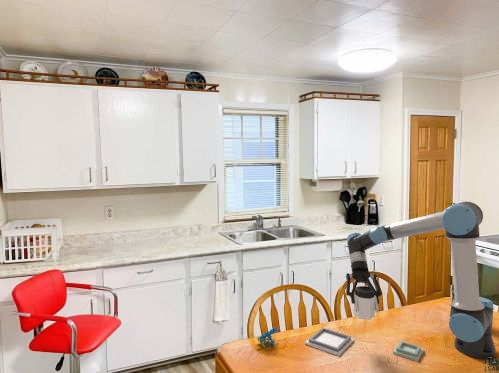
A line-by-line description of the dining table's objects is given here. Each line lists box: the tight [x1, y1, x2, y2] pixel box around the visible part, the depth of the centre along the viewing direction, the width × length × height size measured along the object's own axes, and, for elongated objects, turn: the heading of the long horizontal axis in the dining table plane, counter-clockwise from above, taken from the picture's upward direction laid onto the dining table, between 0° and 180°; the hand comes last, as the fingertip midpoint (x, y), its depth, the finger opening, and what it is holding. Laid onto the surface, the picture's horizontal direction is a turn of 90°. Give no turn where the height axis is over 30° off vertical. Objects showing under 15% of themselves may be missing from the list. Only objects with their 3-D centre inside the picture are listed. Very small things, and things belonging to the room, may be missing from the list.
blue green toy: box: [256, 327, 279, 348], centre depth 161 cm, size 11×6×10 cm
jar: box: [352, 285, 376, 321], centre depth 160 cm, size 9×8×12 cm
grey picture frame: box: [305, 327, 355, 357], centre depth 162 cm, size 16×16×2 cm
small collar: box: [392, 340, 425, 362], centre depth 154 cm, size 10×10×2 cm
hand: (366, 310), depth 157 cm, fingers closed on jar, 8 cm apart
